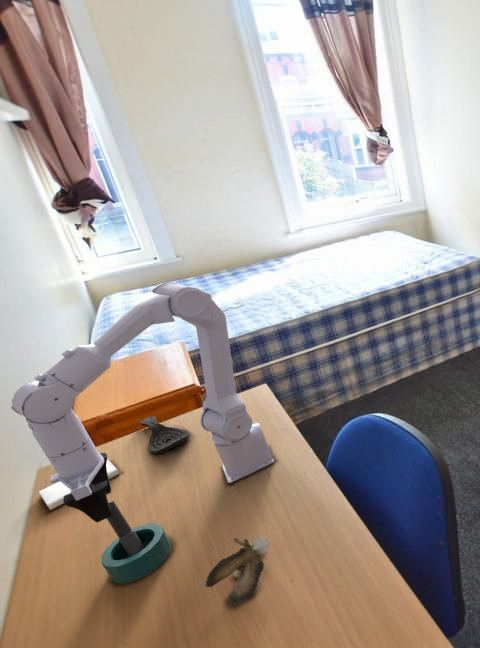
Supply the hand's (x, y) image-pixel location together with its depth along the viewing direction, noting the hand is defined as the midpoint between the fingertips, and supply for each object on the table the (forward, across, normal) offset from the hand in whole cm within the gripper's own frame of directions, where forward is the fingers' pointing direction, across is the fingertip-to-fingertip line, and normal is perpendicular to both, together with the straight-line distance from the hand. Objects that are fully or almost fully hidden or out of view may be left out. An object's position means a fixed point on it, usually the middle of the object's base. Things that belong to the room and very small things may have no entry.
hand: (104, 506), depth 84 cm
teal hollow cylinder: (+10, +6, +2) cm, 12 cm away
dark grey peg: (+9, +6, +2) cm, 11 cm away
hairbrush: (+11, -38, +8) cm, 40 cm away
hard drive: (+11, -30, -8) cm, 33 cm away
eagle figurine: (+11, +24, +16) cm, 31 cm away
